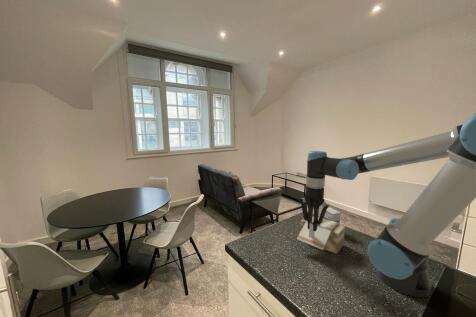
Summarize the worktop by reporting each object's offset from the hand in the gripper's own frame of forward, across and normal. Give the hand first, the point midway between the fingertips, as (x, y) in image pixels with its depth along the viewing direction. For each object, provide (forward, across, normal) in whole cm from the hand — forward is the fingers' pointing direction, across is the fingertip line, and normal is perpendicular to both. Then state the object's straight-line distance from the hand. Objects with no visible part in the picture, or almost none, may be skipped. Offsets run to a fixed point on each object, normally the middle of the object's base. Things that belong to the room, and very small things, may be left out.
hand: (311, 236), depth 89 cm
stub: (+1, 0, -2) cm, 2 cm away
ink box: (+8, +1, -28) cm, 29 cm away
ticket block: (+8, 0, -12) cm, 14 cm away
